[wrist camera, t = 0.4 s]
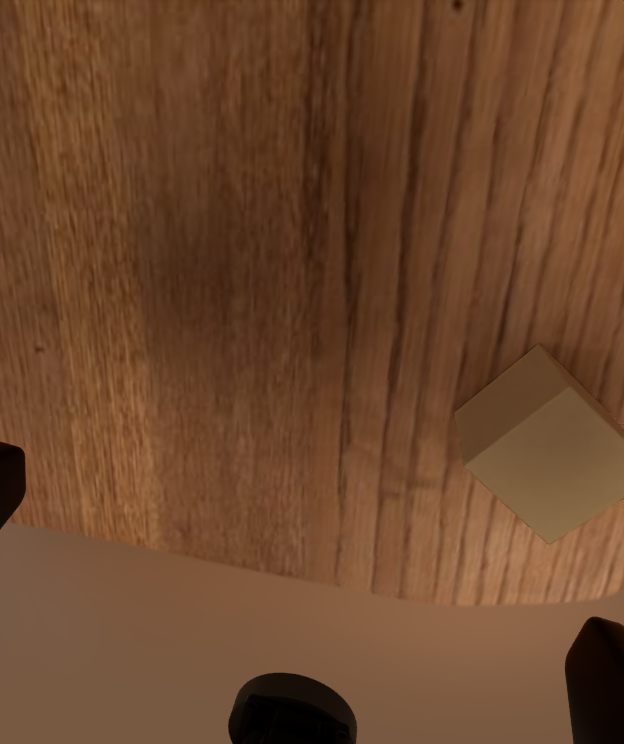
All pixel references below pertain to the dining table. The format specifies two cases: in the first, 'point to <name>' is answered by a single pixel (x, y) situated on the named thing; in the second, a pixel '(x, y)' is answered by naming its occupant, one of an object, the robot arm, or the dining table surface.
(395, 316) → the dining table surface
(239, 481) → the dining table surface
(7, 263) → the dining table surface
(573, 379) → the block
